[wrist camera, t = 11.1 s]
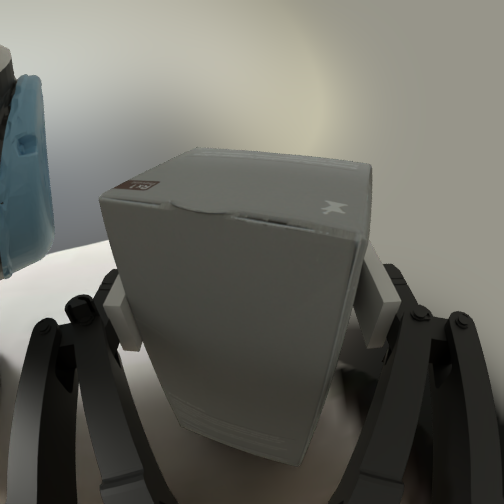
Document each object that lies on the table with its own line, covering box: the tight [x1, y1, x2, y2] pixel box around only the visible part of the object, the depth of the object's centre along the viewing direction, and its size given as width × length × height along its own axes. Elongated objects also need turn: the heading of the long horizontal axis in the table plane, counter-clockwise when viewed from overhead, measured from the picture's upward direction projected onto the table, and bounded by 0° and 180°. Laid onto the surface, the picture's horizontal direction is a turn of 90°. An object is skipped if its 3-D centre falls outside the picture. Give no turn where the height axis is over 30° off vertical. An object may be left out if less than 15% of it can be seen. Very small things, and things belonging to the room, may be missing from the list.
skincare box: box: [99, 147, 372, 467], centre depth 14 cm, size 8×7×16 cm
